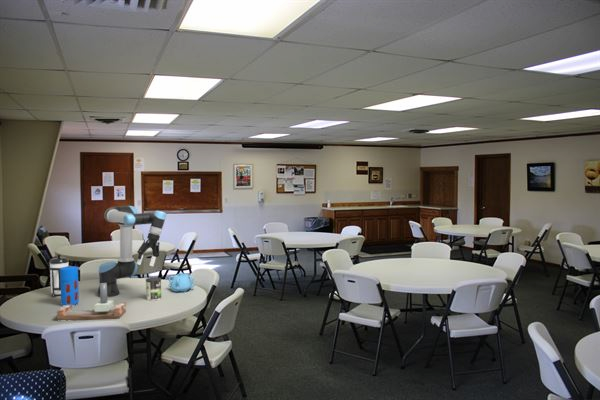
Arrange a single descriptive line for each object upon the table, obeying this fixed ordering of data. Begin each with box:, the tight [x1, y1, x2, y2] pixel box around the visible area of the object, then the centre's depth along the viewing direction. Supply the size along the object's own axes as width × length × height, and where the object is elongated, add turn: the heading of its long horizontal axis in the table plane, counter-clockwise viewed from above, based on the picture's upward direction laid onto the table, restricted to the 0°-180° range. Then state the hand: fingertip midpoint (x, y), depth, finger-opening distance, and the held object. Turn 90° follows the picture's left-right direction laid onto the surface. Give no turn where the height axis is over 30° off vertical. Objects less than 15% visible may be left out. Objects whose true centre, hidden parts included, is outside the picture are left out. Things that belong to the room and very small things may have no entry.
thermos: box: [60, 265, 80, 306], centre depth 309 cm, size 11×11×25 cm
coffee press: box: [48, 253, 70, 296], centre depth 334 cm, size 17×16×30 cm
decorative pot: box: [167, 272, 195, 293], centre depth 344 cm, size 16×16×14 cm
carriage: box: [94, 283, 114, 312], centre depth 282 cm, size 10×8×16 cm
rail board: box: [56, 302, 127, 322], centre depth 282 cm, size 14×38×7 cm, turn 96°
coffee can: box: [145, 277, 162, 302], centre depth 321 cm, size 10×10×14 cm
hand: (145, 265), depth 300 cm, fingers open, 13 cm apart
